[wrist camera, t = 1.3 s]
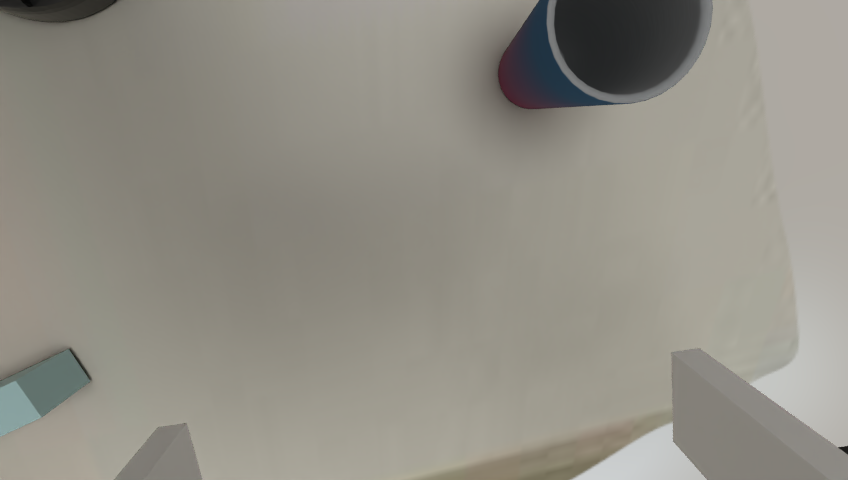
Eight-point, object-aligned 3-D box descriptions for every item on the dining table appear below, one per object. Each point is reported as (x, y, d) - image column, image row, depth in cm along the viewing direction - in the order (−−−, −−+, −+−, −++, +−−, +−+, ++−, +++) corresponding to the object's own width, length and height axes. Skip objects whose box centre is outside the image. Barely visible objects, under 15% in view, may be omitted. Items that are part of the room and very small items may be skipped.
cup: (581, 117, 34) (711, 95, 20) (488, 126, 34) (550, 111, 20) (578, 17, 33) (715, -86, 18) (482, 26, 33) (542, -70, 18)
